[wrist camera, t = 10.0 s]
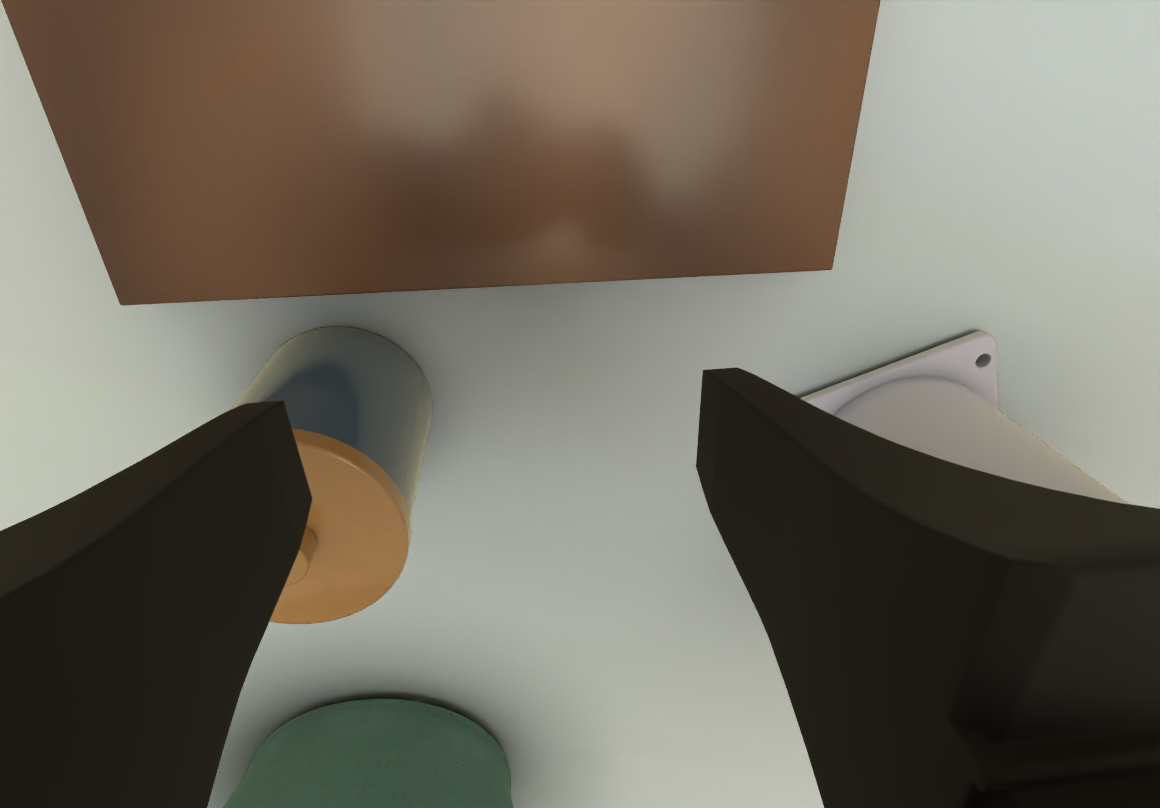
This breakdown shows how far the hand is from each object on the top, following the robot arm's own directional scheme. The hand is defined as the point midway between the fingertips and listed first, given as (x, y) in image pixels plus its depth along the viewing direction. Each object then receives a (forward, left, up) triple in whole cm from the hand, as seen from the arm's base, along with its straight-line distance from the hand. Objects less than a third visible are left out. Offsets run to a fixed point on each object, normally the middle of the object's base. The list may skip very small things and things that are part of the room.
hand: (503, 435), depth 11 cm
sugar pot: (-2, +7, -9) cm, 12 cm away
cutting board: (+5, -1, -9) cm, 11 cm away
